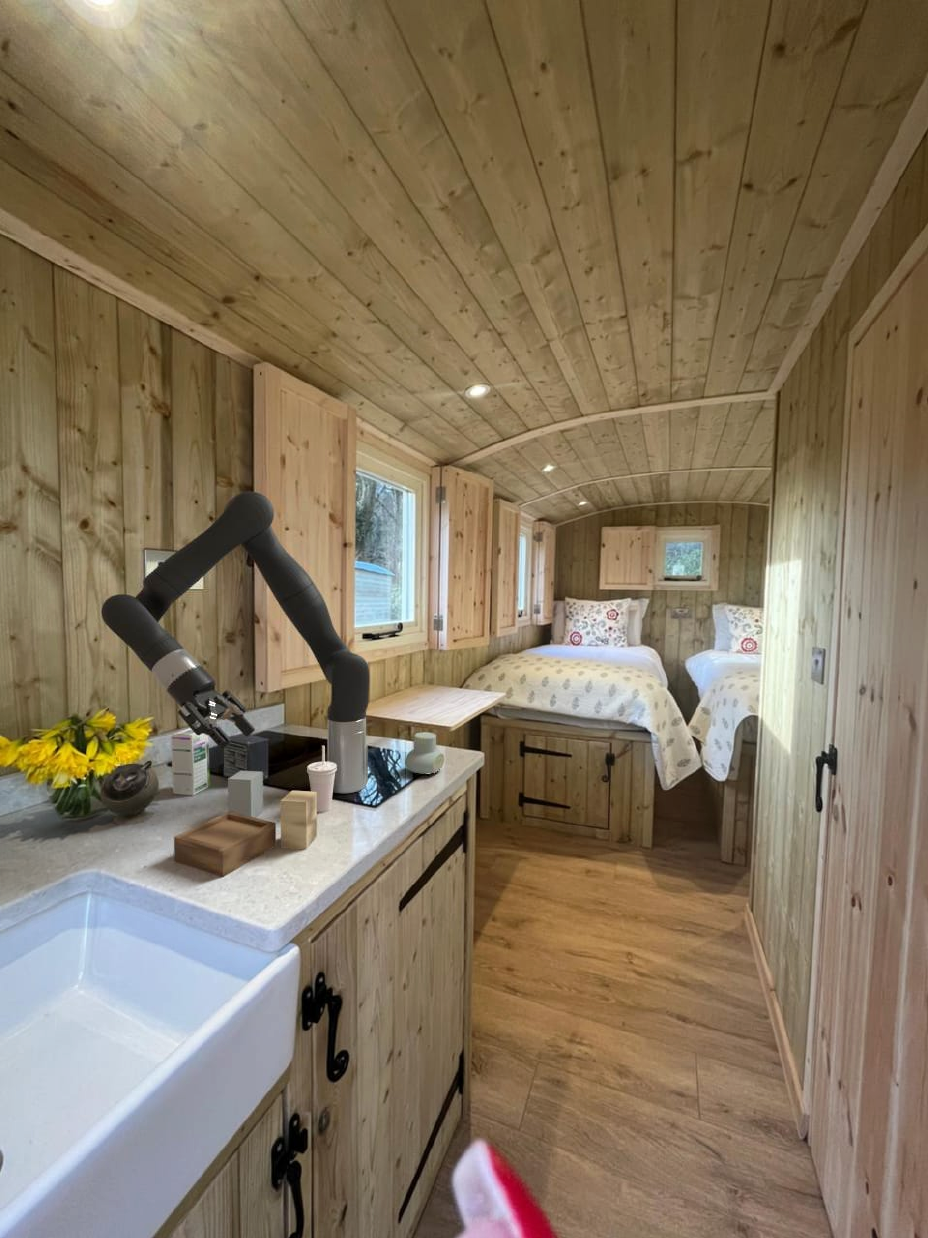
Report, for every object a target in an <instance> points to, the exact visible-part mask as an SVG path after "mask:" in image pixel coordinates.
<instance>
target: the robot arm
mask: <svg viewBox="0 0 928 1238" xmlns="http://www.w3.org/2000/svg"><path fill="white" fill-rule="evenodd" d="M274 513H275V511H274V507H273V504H272V502H271V501H270V500H269V498H268V497H266V496H265V495H263V494H262V493H259V492H256V491H244V492H243V491H242V492H240V493H238V494H237V495H235V496H233V497H232V498H231V499H230V500H229V501H228V502H227V504H226V505H225V506H224V509H223V512H222V513H221V514H220V515H219V517H218V518H217V519H216V520H215V521H214V522H213V523H212V524H211V525H210V526H209V527H208V528H206V529H205V530H204V531H203V532H202V533H200V534H199V535H198V536H196V537H195V538H194V539H192V540H191V541H190V542H188V543H187V544H186V545H184V546H182V547H181V548H180V549H178V550H177V551H176V552H174V553H173V554H171V556H169V557H168V558H166V559H165V560H164V561H163V562H161V563H160V564H159V565H158V566H156V567H155V568H154V569H153V570H152V571H151V572H149V573H148V574H147V576H145V578H144V579H143V582H142V585H143V588H142V589H141V590H140V591H139V592H138V594H137V595H136V596H133V595H131V594H125V593H121V594H119V593H118V594H115V595H112V596H110V597H108V598H107V599H105V601H104V603H103V604H102V607H101V610H100V611H101V618H102V621H103V622H104V623H105V625H106V626H107V627H108V628H109V629H110V630H111V631H112V632H113V633H114V634H115V635H116V636H117V637H118V638H119V639H120V640H122V641H123V643H124V644H125V645H127V646H128V648H130V649H131V650H132V651H133V653H134V654H135V655H136V656H137V657H138V658H139V660H140V661H141V662H142V663H143V665H144V666H146V668H147V669H148V670H149V671H150V672H151V674H153V676H154V678H155V680H156V681H157V682H158V684H159V685H161V687H163V689H164V690H165V691H166V693H168V694H169V695H170V696H171V698H172V699H173V700H174V701H175V702H176V703H177V705H179V707H180V709H179V710H178V711H177V713H178V715H179V716H180V717H181V718H182V719H183V721H184V722H185V724H186V725H187V726H188V727H189V728H191V729H192V730H193V731H194V733H195V734H196V735H201V734H205V735H208V737H210V739H211V740H212V741H213V742H214V743H215V744H216V745H217V747H219V748H220V749H221V750H224V748H226V747H227V746H228V745H229V744H230V743H231V739H230V738H229V735H228V734H226V732H225V731H224V730H223V729H222V727H220V726H218V723H217V719H220V720H228V721H230V722H231V723H233V724H234V725H235V726H236V728H237V729H238V730H239V731H240V732H241V734H244V735H245V736H246V737H247V736H249V735H252V734H253V733H254V732H255V730H256V729H255V727H254V726H253V725H252V724H251V723H250V721H248V719H247V718H246V717H245V713H246V712H247V710H248V709H247V708H246V706H245V705H244V704H243V703H241V701H240V700H239V699H238V698H237V697H236V695H234V694H233V693H232V692H231V691H230V690H228V689H225V690H224V691H223V692H222V693H219V692H218V691H216V685H217V684H216V680H215V679H214V678H213V676H211V675H210V673H209V672H208V671H207V670H206V669H205V668H204V666H203V665H201V663H199V661H198V660H197V659H196V658H195V657H194V656H193V655H192V654H191V653H190V652H188V651H187V650H186V649H185V648H184V647H183V646H182V645H181V643H179V641H178V640H177V639H176V638H175V637H174V636H173V635H172V634H171V633H169V632H168V631H167V630H166V629H164V628H163V627H162V626H161V625H160V623H159V622H160V620H161V619H162V618H163V617H164V615H165V614H166V613H167V611H168V610H169V609H170V608H171V606H172V604H174V602H176V601H177V600H178V599H179V598H180V597H182V596H183V595H184V594H185V593H187V591H189V590H190V589H191V588H193V586H194V585H195V584H197V583H198V582H199V581H200V580H201V579H202V578H203V577H204V576H205V575H206V574H208V572H209V571H211V570H212V569H213V568H214V567H215V566H216V565H217V564H218V563H219V562H221V560H222V559H224V557H226V556H227V555H228V554H229V553H232V551H234V549H236V548H237V547H239V546H240V545H241V546H242V548H243V549H244V550H245V551H246V552H247V554H248V555H249V556H250V558H251V559H252V560H253V562H254V564H255V565H256V566H257V568H258V571H259V573H260V575H261V576H262V578H263V579H264V581H265V583H266V585H267V587H268V588H269V590H270V591H271V594H273V596H274V598H275V600H276V602H277V603H278V605H279V606H280V608H281V609H282V611H283V613H284V614H285V615H286V617H287V618H288V620H289V621H290V622H291V624H292V625H293V627H294V628H295V630H296V631H297V632H298V633H299V635H300V636H301V637H302V639H303V640H304V641H305V642H306V644H307V645H308V646H309V647H310V650H311V651H312V653H313V655H314V657H315V660H316V661H317V663H318V666H319V668H320V669H321V672H322V674H323V676H324V678H325V679H326V681H327V682H328V683H329V684H330V685H331V695H330V696H331V700H330V705H328V707H327V713H326V714H327V719H326V720H327V724H326V725H327V762H333V763H335V764H336V765H337V770H336V771H335V778H334V785H333V793H334V794H335V793H337V794H351V793H355V792H360V791H362V790H363V789H365V788H366V786H367V783H369V782H368V780H369V775H368V773H369V768H368V767H369V764H368V763H369V760H368V758H369V757H368V755H369V747H368V745H367V709H368V707H369V701H370V678H371V677H370V668H369V665H368V663H367V660H366V659H365V658H364V657H362V656H360V655H359V654H357V653H352V652H351V650H350V649H349V648H348V647H347V646H346V644H345V642H344V641H343V640H342V639H341V637H340V636H339V634H338V633H337V631H336V629H335V627H334V624H333V621H332V619H331V618H332V617H331V616H330V612H329V609H328V606H327V603H326V601H325V600H324V598H323V595H322V594H321V592H320V590H319V589H318V587H317V586H316V583H314V581H313V579H312V578H311V576H310V575H309V573H307V571H306V570H305V569H304V568H303V566H302V565H300V563H298V561H296V559H295V558H293V557H292V556H291V554H289V552H287V550H286V549H285V548H284V547H283V545H282V544H281V541H280V540H279V539H278V537H277V535H276V534H275V532H274V530H273V528H272V523H273V520H274V516H275V514H274ZM196 722H198V725H197V723H196Z"/></svg>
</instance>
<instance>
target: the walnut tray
mask: <svg viewBox="0 0 928 1238" xmlns="http://www.w3.org/2000/svg"><path fill="white" fill-rule="evenodd" d="M276 825H277V824H276V822H274V821H271V820H270V821H269V820H266V819H262V818H259V817H257V818H254V817H250V816H246V815H242V814H238V813H234V812H230V811H229V812H228V811H227V812H225V813H222V814H220V815H219V816H217V817H214V818H211V819H209V820H208V821H206V822H203V823H202V824H201V823H200V824H199V825H197V826H195V827H193V828H190V829H187V831H183V832H181V833H179V834H177V835H175V836H173V860H174V862H175V863H178V864H182V865H185V866H187V867H190V868H194V869H195V870H196V869H197V870H200V871H203V872H206V873H208V874H209V873H210V874H211V875H216V876H219V877H222V878H224V877H226V876H227V875H229V874H231V873H233V872H234V871H236V870H238V869H239V868H241V867H243V866H244V865H246V864H248V863H250V862H251V861H252V860H254V859H257V858H258V857H259V856H262V855H264V854H265V853H266V852H268V851H269V850H271V849H273V848H275V847H276V846H277V832H276V831H277V826H276Z"/></svg>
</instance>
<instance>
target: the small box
mask: <svg viewBox="0 0 928 1238" xmlns="http://www.w3.org/2000/svg"><path fill="white" fill-rule="evenodd" d="M228 737H229V738H230V739H231V743H230V744H229V745H228V746H227V747H226V748H224V749H223V778H225V779H227V780H228V778H230V777H232V776H233V775H235V774H236V773H238V772H239V771H259V772H263V781H264V780H267V779H269V739H268V738H267V737H261V736H259V735H254V734H253V735H252V734H251V735H249V736H247V737H246V736H245V735H244V734H243V733H239V734H234V735H231V736H230V735H228Z"/></svg>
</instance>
